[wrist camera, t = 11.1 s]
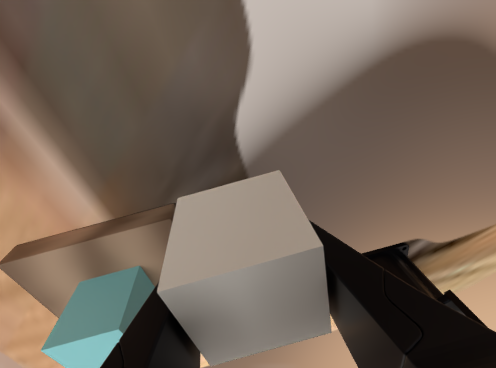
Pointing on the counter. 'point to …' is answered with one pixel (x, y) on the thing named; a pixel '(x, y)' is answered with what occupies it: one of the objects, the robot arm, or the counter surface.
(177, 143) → the counter surface
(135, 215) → the walnut base
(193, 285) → the cream block
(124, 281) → the teal block
